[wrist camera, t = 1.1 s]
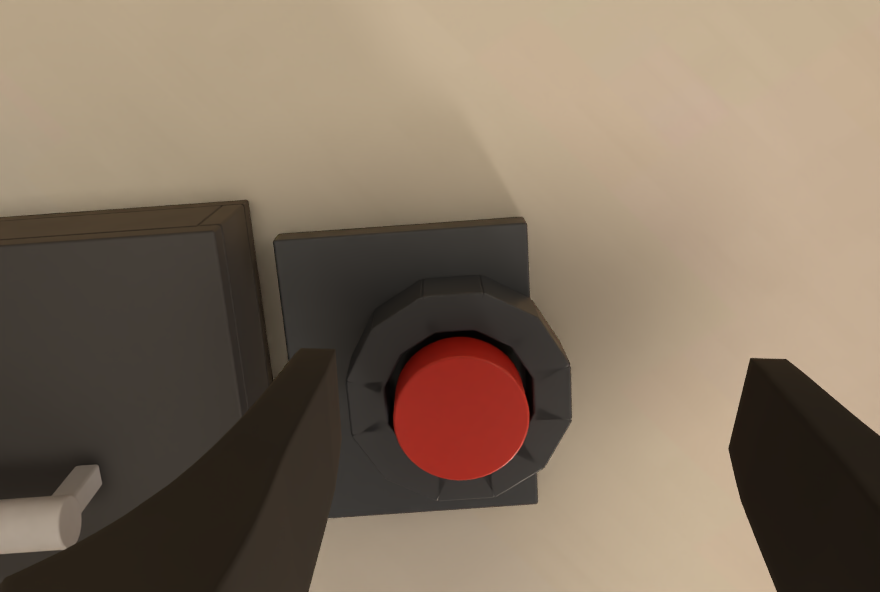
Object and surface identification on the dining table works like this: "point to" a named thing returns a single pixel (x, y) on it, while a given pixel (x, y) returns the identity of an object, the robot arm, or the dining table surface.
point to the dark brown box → (224, 214)
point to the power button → (460, 409)
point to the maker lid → (108, 377)
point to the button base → (420, 347)
